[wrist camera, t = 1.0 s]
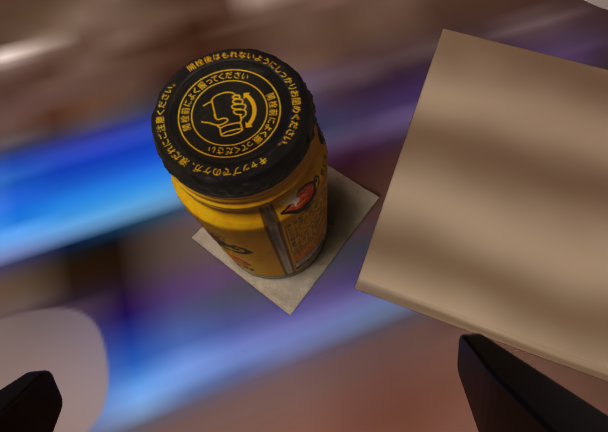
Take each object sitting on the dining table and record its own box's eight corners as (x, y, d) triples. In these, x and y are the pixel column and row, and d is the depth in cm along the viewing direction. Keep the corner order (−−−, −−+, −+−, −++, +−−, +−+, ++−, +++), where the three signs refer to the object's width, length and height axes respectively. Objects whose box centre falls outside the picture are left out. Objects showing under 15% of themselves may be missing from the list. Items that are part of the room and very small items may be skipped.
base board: (667, 403, 20) (724, 410, 17) (354, 288, 22) (358, 277, 20) (691, 132, 25) (738, 102, 22) (430, 63, 27) (443, 28, 24)
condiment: (192, 238, 24) (75, 128, 13) (282, 136, 26) (251, -38, 15) (290, 316, 22) (256, 268, 11) (378, 199, 24) (426, 57, 13)
